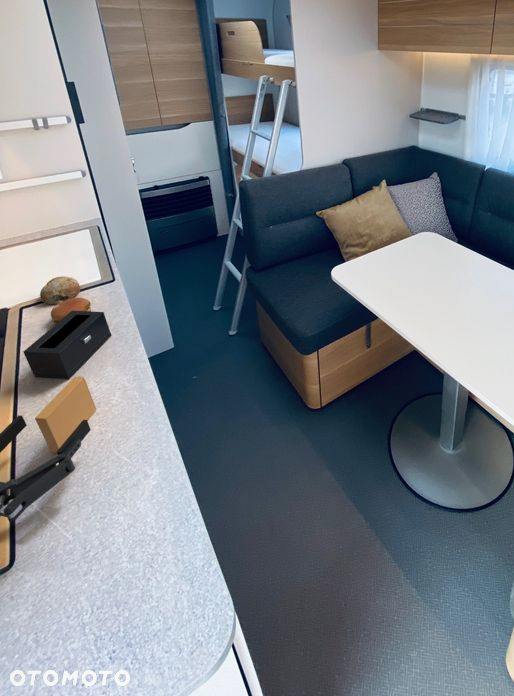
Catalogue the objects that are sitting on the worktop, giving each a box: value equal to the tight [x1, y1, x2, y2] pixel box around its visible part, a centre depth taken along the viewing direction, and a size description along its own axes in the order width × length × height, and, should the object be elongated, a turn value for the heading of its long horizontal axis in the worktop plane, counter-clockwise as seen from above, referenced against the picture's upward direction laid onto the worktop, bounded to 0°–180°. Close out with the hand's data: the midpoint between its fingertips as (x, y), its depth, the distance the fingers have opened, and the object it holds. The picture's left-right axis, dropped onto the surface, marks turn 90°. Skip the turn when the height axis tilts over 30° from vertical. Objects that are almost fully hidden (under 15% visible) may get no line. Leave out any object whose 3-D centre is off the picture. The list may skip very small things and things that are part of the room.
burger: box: [50, 296, 92, 326], centre depth 118 cm, size 10×9×5 cm
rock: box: [39, 276, 81, 305], centre depth 128 cm, size 10×10×8 cm
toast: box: [34, 376, 97, 454], centre depth 84 cm, size 2×10×10 cm, turn 175°
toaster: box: [22, 310, 112, 380], centre depth 103 cm, size 10×15×8 cm, turn 175°
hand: (54, 422), depth 80 cm, fingers open, 13 cm apart
